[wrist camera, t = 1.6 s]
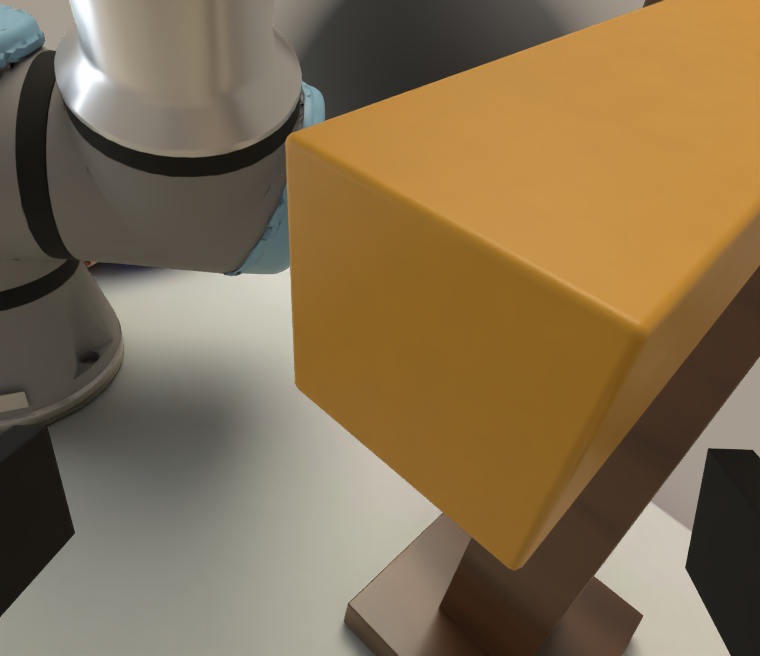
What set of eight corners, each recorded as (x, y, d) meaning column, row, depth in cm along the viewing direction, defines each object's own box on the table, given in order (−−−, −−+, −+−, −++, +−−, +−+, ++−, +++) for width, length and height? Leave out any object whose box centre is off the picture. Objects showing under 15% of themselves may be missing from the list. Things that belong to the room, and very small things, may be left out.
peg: (775, 60, 17) (840, -65, 15) (894, 93, 15) (985, -38, 13) (291, 387, 6) (280, 131, 4) (514, 578, 5) (648, 335, 3)
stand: (467, 499, 40) (748, -160, 18) (629, 631, 34) (1305, -91, 13) (343, 621, 32) (575, -274, 10) (525, 817, 26) (1808, -227, 5)
